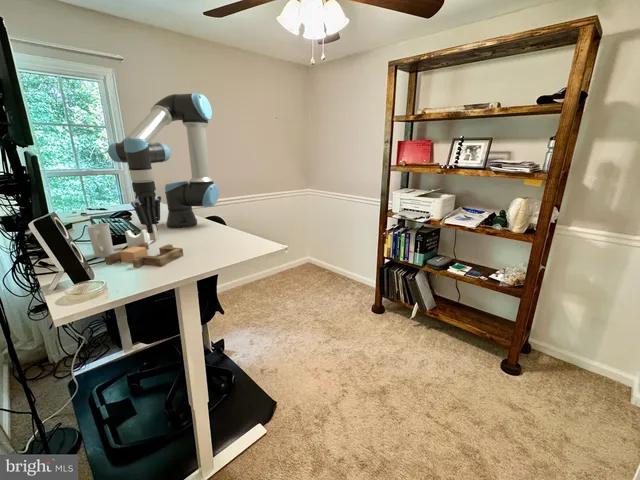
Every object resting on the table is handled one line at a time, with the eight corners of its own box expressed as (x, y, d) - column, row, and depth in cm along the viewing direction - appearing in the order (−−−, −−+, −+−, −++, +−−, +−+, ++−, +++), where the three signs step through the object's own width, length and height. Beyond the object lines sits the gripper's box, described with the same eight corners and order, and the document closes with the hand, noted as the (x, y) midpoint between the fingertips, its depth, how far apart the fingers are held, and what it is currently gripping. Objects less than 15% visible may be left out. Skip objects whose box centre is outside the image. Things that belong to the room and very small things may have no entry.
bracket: (146, 248, 127) (143, 231, 125) (128, 249, 126) (124, 231, 124) (158, 239, 140) (155, 223, 137) (142, 240, 139) (139, 224, 137)
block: (135, 257, 117) (133, 246, 116) (148, 258, 116) (146, 247, 114) (122, 262, 111) (119, 251, 110) (135, 264, 110) (133, 252, 109)
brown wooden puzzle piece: (144, 248, 126) (143, 242, 125) (188, 252, 121) (187, 245, 120) (106, 264, 109) (104, 256, 108) (154, 270, 104) (153, 262, 103)
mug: (97, 253, 121) (90, 224, 117) (116, 251, 123) (110, 222, 120) (89, 261, 112) (81, 230, 109) (110, 259, 114) (103, 228, 111)
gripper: (147, 178, 121) (158, 234, 128) (120, 183, 109) (133, 244, 116) (163, 178, 119) (173, 235, 127) (137, 183, 107) (150, 246, 115)
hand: (154, 239), depth 122 cm, fingers closed
